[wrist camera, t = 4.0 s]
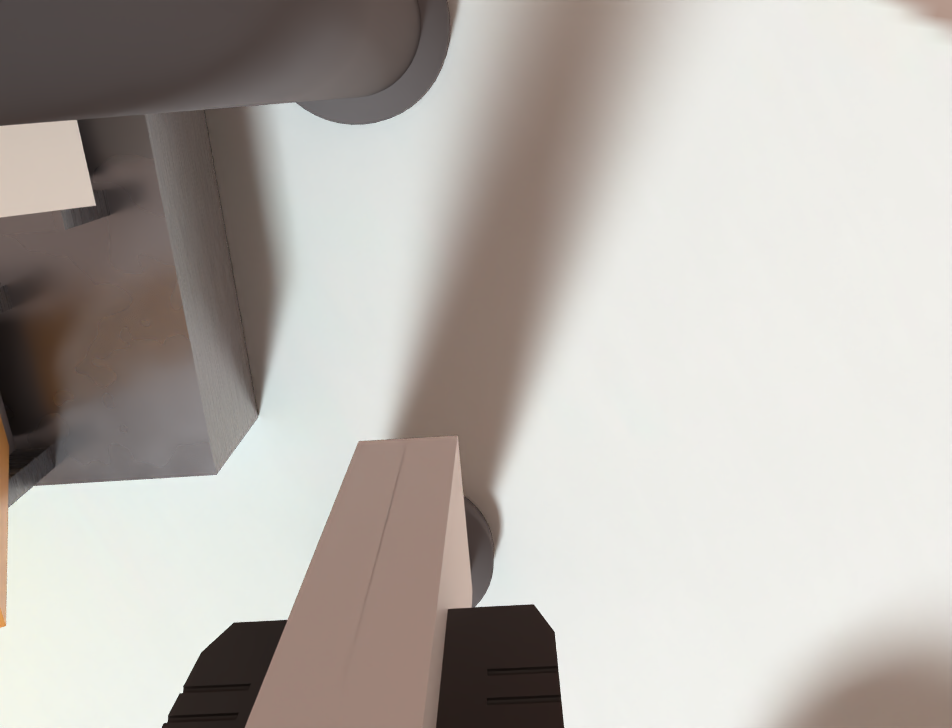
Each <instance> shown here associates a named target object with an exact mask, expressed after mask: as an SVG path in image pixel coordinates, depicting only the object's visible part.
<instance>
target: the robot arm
mask: <svg viewBox="0 0 952 728" xmlns="http://www.w3.org/2000/svg"><path fill="white" fill-rule="evenodd" d="M183 688H184V690H183V693H180V694H179V696H178V698H177V700H176V702H175V703H174V705H173V707H172V709H171V711H170V713H169V715H168V723H164V724H163V726H162V728H564V723H563V712H562V702H561V692H560V682H559V673H558V662H557V652H556V642H555V632H554V631H553V629H552V628H551V627H550V625H549V624H548V623H547V621H546V620H545V619H544V617H543V616H542V615H541V613H540V612H539V611H538V610H537V608H536V607H535V606H534V604H533V605H513V606H494V607H474V608H472V581H471V570H470V560H469V549H468V539H467V528H466V517H465V507H464V496H463V485H462V475H461V464H460V453H459V443H458V435H453V436H437V437H421V438H405V439H389V440H373V441H359V442H358V444H357V447H356V449H355V452H354V454H353V457H352V459H351V462H350V464H349V467H348V470H347V472H346V475H345V477H344V480H343V482H342V485H341V487H340V490H339V492H338V495H337V497H336V500H335V502H334V505H333V507H332V510H331V512H330V515H329V517H328V520H327V522H326V525H325V527H324V530H323V532H322V535H321V537H320V540H319V542H318V545H317V547H316V550H315V552H314V555H313V557H312V560H311V562H310V565H309V568H308V570H307V573H306V575H305V578H304V580H303V583H302V585H301V588H300V590H299V593H298V595H297V598H296V600H295V603H294V605H293V608H292V610H291V613H290V615H289V618H288V620H278V621H258V622H239V623H233V624H232V625H231V626H230V627H229V628H228V629H227V630H225V631H224V632H223V633H222V634H221V635H220V636H219V637H218V638H217V639H216V640H214V641H213V642H212V643H211V644H210V645H209V646H208V647H207V648H206V649H205V650H204V651H202V652H201V654H200V656H199V658H198V660H197V662H196V664H195V666H194V667H193V669H192V671H191V673H190V675H189V677H188V679H187V681H186V683H185V685H184V686H183Z"/></svg>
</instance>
